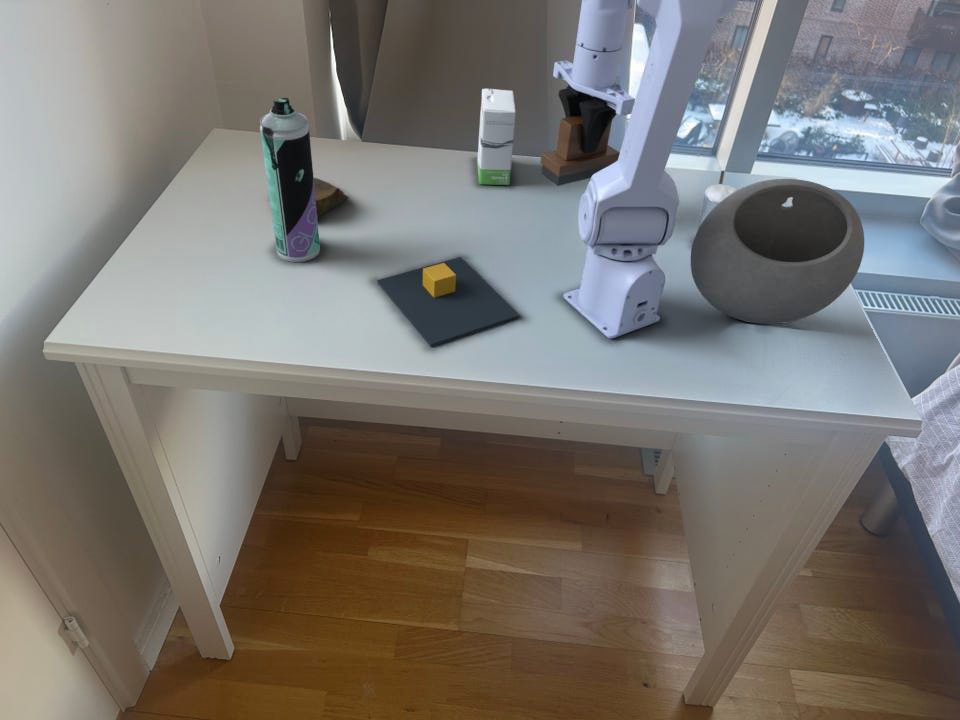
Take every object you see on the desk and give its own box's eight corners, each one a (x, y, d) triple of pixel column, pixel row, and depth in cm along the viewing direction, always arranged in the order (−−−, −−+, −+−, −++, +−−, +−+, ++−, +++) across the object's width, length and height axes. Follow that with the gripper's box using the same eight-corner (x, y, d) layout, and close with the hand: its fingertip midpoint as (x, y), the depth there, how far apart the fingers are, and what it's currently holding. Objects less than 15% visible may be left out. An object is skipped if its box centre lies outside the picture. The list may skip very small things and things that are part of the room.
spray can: (310, 265, 94) (295, 112, 81) (270, 258, 95) (247, 105, 82) (326, 243, 98) (313, 94, 85) (286, 236, 99) (268, 87, 86)
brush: (597, 159, 108) (607, 106, 103) (616, 172, 105) (627, 117, 100) (538, 173, 103) (545, 117, 98) (557, 187, 101) (565, 130, 95)
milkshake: (719, 236, 106) (740, 172, 99) (725, 256, 102) (747, 191, 95) (687, 233, 106) (706, 168, 99) (692, 253, 102) (711, 187, 95)
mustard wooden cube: (455, 291, 91) (456, 274, 89) (434, 298, 90) (434, 281, 88) (443, 279, 93) (444, 262, 91) (422, 285, 92) (422, 268, 90)
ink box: (510, 186, 113) (517, 111, 106) (477, 185, 113) (482, 109, 105) (507, 161, 120) (513, 88, 112) (476, 159, 120) (481, 87, 112)
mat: (519, 317, 89) (519, 314, 88) (430, 347, 83) (430, 344, 83) (460, 259, 97) (460, 256, 97) (377, 282, 92) (377, 280, 92)
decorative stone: (262, 197, 106) (259, 175, 104) (319, 179, 111) (316, 157, 109) (301, 228, 101) (298, 205, 98) (358, 208, 106) (357, 185, 103)
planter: (673, 324, 90) (715, 182, 77) (674, 291, 95) (713, 154, 83) (831, 351, 87) (900, 210, 75) (823, 316, 93) (886, 179, 80)
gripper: (661, 59, 90) (639, 163, 99) (588, 23, 99) (574, 122, 108) (616, 66, 87) (597, 173, 96) (545, 29, 96) (534, 130, 105)
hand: (582, 146), depth 102 cm, fingers closed on brush, 2 cm apart
